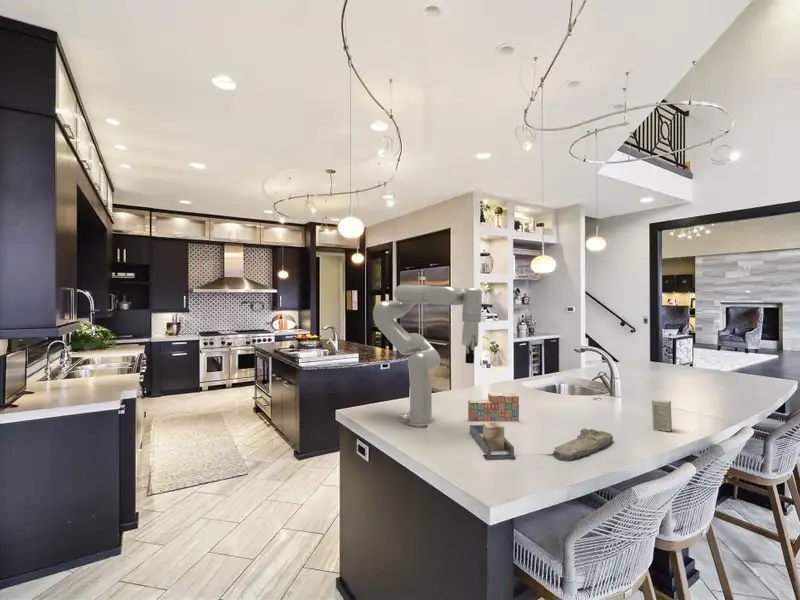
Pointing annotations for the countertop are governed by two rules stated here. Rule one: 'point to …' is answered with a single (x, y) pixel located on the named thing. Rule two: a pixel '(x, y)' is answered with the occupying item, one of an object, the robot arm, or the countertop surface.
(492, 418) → the stack of blocks
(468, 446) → the countertop surface
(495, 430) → the block
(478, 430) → the chute
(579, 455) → the long grey stone
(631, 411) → the countertop surface
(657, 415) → the skincare box
